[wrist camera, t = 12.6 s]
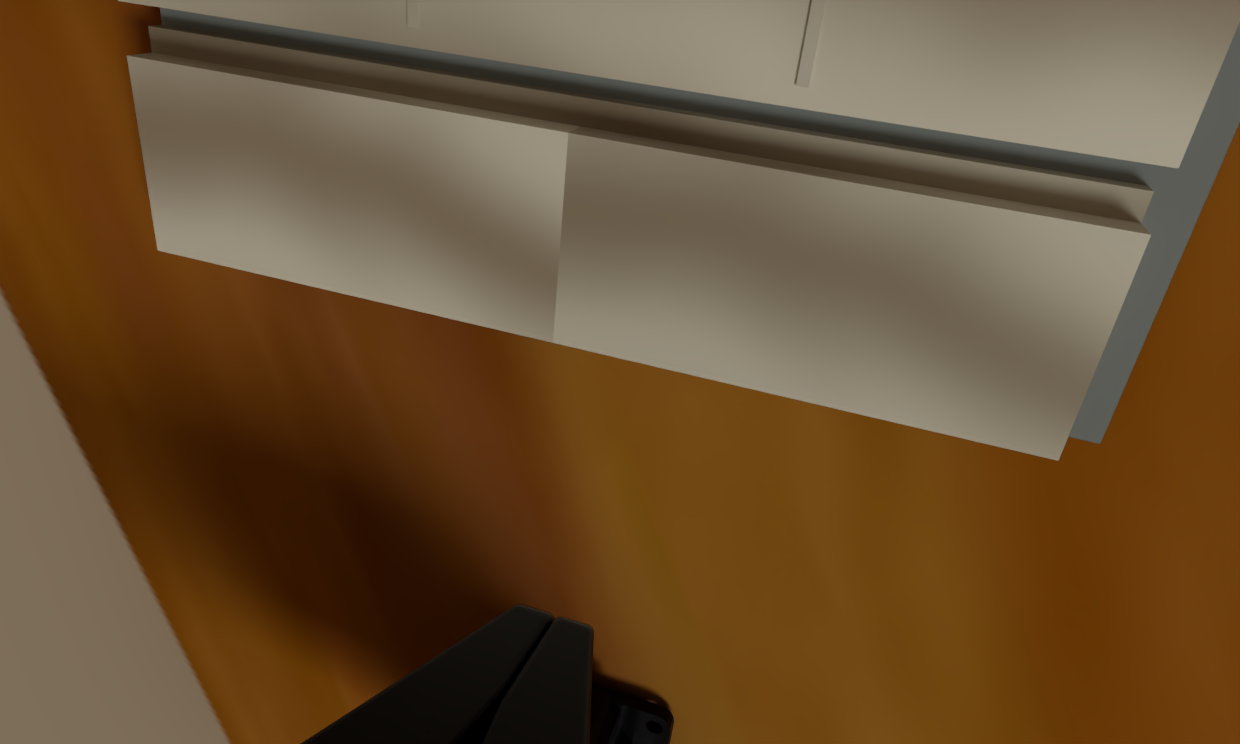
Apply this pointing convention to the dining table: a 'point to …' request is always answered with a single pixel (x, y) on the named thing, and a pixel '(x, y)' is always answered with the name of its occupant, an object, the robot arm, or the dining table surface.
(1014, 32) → the plank
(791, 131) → the floor row
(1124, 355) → the underlay mat
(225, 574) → the dining table surface
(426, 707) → the robot arm
